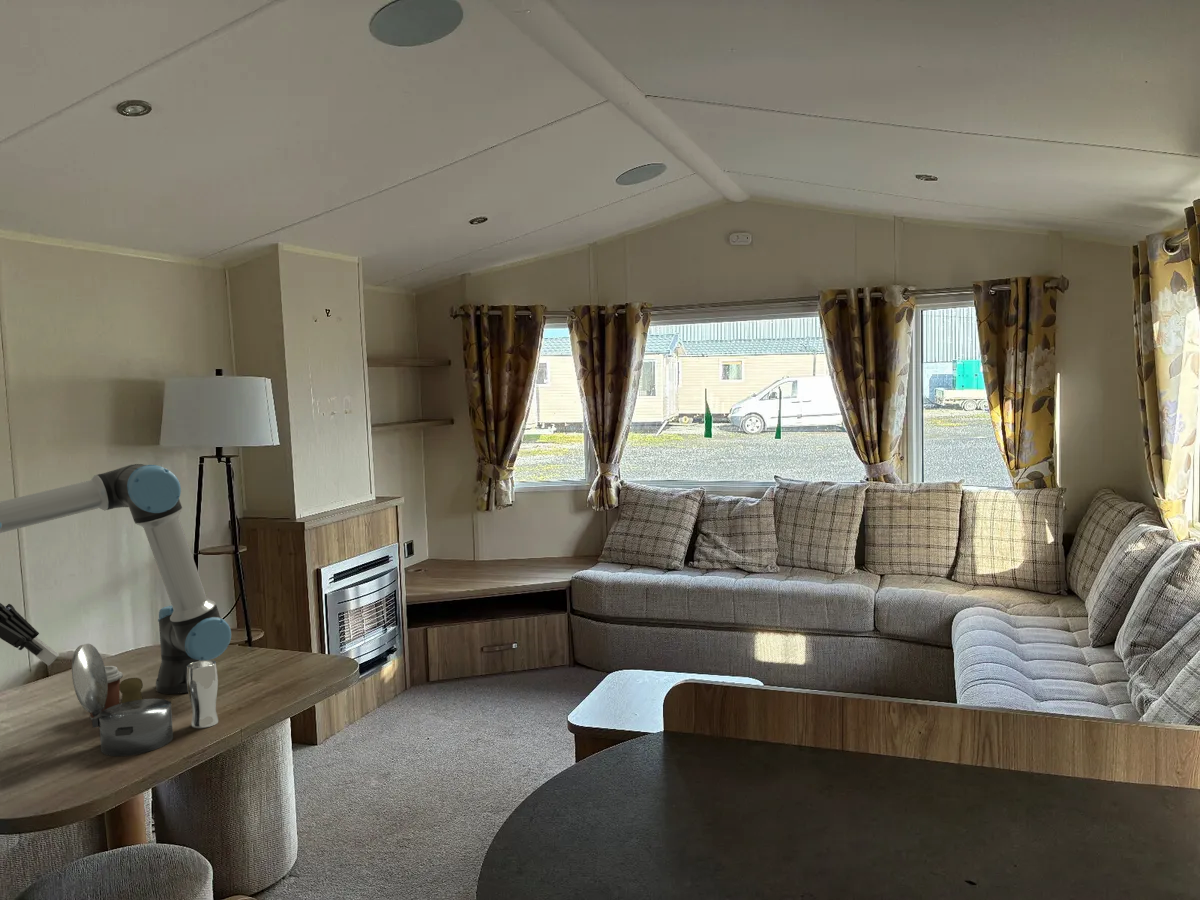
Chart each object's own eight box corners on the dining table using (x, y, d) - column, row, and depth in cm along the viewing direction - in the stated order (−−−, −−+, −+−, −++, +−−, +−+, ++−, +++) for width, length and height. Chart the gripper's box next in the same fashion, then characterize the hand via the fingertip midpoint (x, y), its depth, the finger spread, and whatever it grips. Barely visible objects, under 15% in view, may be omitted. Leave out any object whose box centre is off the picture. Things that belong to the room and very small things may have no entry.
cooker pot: (82, 763, 199) (80, 728, 199) (112, 732, 218) (109, 699, 218) (160, 755, 202) (158, 720, 202) (182, 725, 221) (180, 693, 221)
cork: (135, 727, 221) (132, 683, 220) (114, 726, 222) (111, 682, 221) (152, 718, 227) (149, 675, 226) (131, 717, 228) (128, 674, 227)
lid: (90, 723, 201) (79, 726, 200) (113, 700, 216) (104, 703, 216) (71, 654, 199) (60, 657, 199) (96, 636, 215) (86, 638, 214)
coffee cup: (78, 717, 229) (75, 671, 228) (116, 707, 236) (113, 662, 235) (93, 725, 223) (89, 677, 222) (131, 714, 230) (128, 668, 229)
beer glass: (197, 719, 225) (194, 660, 224) (225, 718, 225) (221, 659, 224) (184, 729, 218) (180, 668, 217) (212, 728, 218) (208, 668, 217)
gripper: (-31, 599, 208) (53, 664, 212) (-61, 613, 195) (29, 681, 199) (-7, 575, 208) (76, 640, 213) (-36, 587, 196) (54, 656, 200)
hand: (53, 660), depth 206 cm, fingers closed
